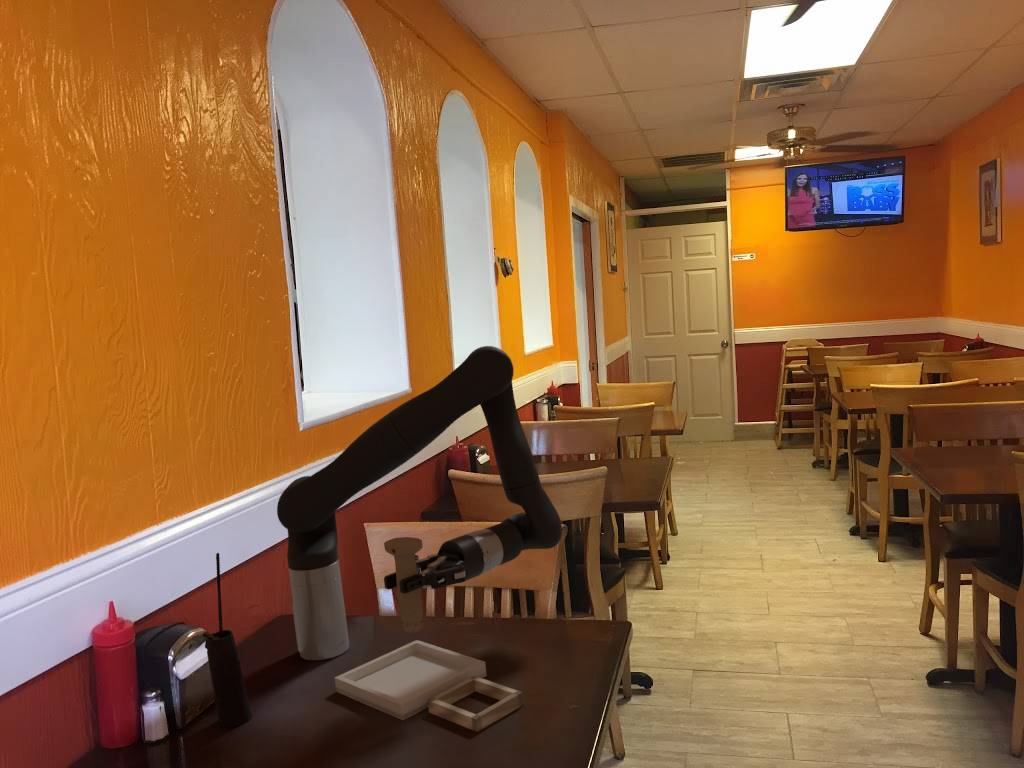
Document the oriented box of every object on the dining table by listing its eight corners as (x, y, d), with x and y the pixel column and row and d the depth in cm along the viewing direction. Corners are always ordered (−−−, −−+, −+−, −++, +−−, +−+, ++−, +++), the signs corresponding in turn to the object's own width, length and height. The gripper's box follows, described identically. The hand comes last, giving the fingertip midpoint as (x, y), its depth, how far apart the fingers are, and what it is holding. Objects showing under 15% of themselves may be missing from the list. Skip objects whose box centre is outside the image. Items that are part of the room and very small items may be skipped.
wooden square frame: (429, 712, 135) (427, 700, 135) (475, 687, 142) (474, 675, 142) (477, 732, 127) (475, 719, 127) (523, 704, 134) (522, 692, 134)
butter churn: (185, 729, 138) (160, 558, 135) (232, 702, 146) (210, 541, 143) (223, 739, 133) (198, 563, 130) (270, 711, 141) (248, 544, 138)
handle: (418, 638, 139) (408, 547, 137) (389, 632, 143) (378, 544, 141) (437, 626, 143) (427, 538, 141) (408, 621, 146) (397, 536, 145)
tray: (336, 691, 146) (334, 677, 145) (418, 653, 158) (417, 639, 158) (403, 720, 133) (401, 705, 133) (486, 676, 146) (484, 661, 146)
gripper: (442, 529, 156) (364, 556, 144) (497, 539, 146) (418, 569, 134) (447, 569, 157) (370, 600, 145) (501, 582, 147) (423, 616, 135)
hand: (393, 585), depth 140 cm, fingers closed on handle, 3 cm apart
